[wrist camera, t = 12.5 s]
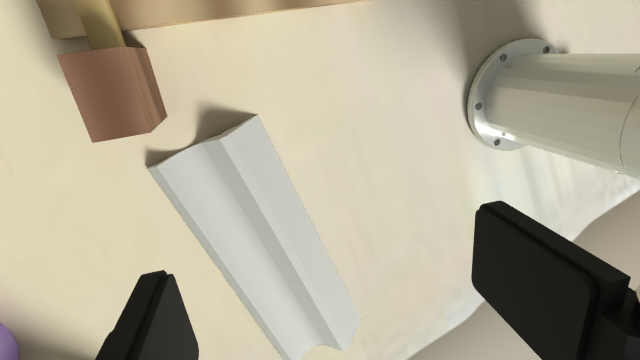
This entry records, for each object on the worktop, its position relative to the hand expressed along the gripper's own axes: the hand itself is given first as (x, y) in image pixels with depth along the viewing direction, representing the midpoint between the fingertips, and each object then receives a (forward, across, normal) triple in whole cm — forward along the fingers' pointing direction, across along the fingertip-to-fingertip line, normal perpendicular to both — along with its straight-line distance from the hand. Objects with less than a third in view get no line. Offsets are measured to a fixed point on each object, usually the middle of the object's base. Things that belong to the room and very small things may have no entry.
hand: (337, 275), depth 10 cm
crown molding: (+26, +3, +16) cm, 31 cm away
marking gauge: (+25, +12, -10) cm, 30 cm away
